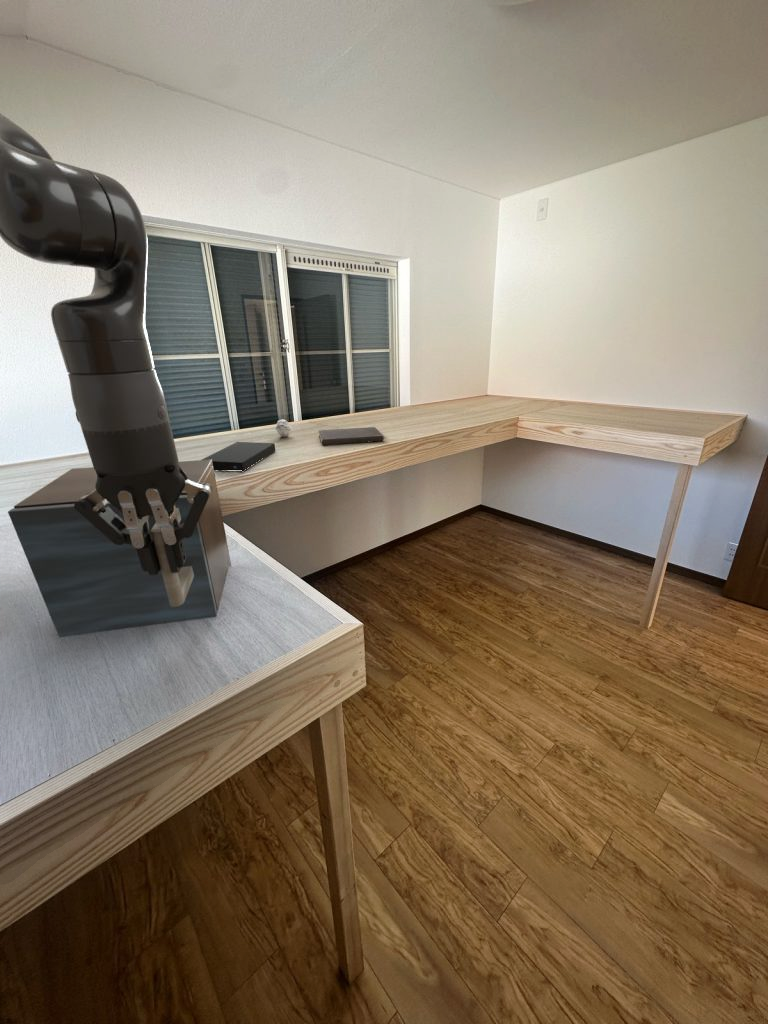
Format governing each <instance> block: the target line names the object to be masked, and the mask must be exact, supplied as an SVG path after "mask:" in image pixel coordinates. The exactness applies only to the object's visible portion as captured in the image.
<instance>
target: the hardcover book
mask: <svg viewBox="0 0 768 1024" xmlns="http://www.w3.org/2000/svg"><path fill="white" fill-rule="evenodd" d="M317 432H318V434H319V435H318V437H319V440H320V443H321V446H322V445H323V446H333V445H332V444H338V445H347V444H346V443H353V444H356V443H355V442H368V441H383V440H384V439H385V437H384V434H382V432H381V431H380V430H379V429H378V428H377V427H375V426H370V427H369V426H368V427H367V426H366V427H353V428H352V427H350V428H335V429H318V431H317ZM383 442H384V441H383ZM368 443H369V442H368Z"/></svg>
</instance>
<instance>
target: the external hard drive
mask: <svg viewBox="0 0 768 1024" xmlns="http://www.w3.org/2000/svg"><path fill="white" fill-rule="evenodd" d="M273 452H274V453H275V452H276V444H275V443H274V442H254V441H252V442H251V441H236V442H234V443H232V444H230V445H228V446H226V447H223V448H222V449H220V450H218V451H216V452H213V453H212V454H210V455H207V456H206V457H204V458H202V459H201V460H212V463H213V468H214V470H242V471H244V470H245V469H247V468H248V467H250V466H251V465H253V464H255V463H256V462H258V461H259V460H261V459H262V458H264V457H266V456H268V455H269V456H271V455H273V454H274V453H273ZM270 454H271V455H270ZM269 456H268V457H269ZM266 458H267V457H266ZM264 459H265V458H264ZM261 461H262V460H261ZM258 463H259V462H258ZM255 465H256V464H255ZM250 468H251V467H250ZM247 470H248V469H247ZM244 472H245V471H244Z"/></svg>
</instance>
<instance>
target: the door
mask: <svg viewBox="0 0 768 1024" xmlns="http://www.w3.org/2000/svg"><path fill="white" fill-rule="evenodd" d="M107 502H108V501H107ZM108 507H109V508H110V509H111V510H112V511H113V512H115V513H116V514H117V515H118V516H119V517H120V518H121V519H122V520H123V521H124V522H125V520H124V515H123V513H122V512H121V511H120V510H119V509H117V508H116V507H115V506H114V505H112V504H111V503H110V502H108ZM175 507H176V510H177V518H178V522H179V525H180V524H182V523H184V522H185V520H186V518H187V516H188V514H189V511H190V509H191V507H192V504H191V503H189V502H188V500H187V495H180V497H179V499H178V500H177V502H176V504H175ZM7 514H8V516H9V518H10V521H11V524H12V526H13V529H14V530H15V533H16V536H17V538H18V540H19V543H20V546H21V548H22V550H23V553H24V556H25V558H26V560H27V562H28V564H29V567H30V570H31V572H32V574H33V578H34V580H35V582H36V584H37V587H38V589H39V592H40V595H41V597H42V599H43V602H44V604H45V607H46V608H47V611H48V614H49V616H50V619H51V621H52V623H53V626H54V628H55V631H56V634H57V635H58V638H64V637H71V636H80V635H86V634H87V635H88V634H94V633H101V632H110V631H117V630H123V629H124V630H125V629H132V628H140V627H148V626H153V625H154V626H156V625H163V624H172V623H178V622H185V621H193V620H200V619H209V618H216V617H218V611H217V608H216V603H215V598H214V593H213V588H212V584H211V579H210V574H209V569H208V565H207V560H206V555H205V550H204V545H203V541H202V536H201V531H200V526H199V522H198V523H197V525H196V528H195V530H194V532H193V534H192V536H191V537H190V538H183V539H182V542H183V546H184V550H185V554H186V560H185V563H184V565H183V567H181V569H180V571H179V573H171V570H170V566H169V562H168V559H167V555H166V551H165V547H164V546H165V544H166V543H165V541H164V538H163V535H162V532H161V529H160V528H159V527H158V526H157V523H156V520H155V517H154V516H149V518H148V522H149V527H150V532H151V535H150V537H151V539H153V542H154V546H155V550H156V553H157V557H158V561H159V565H160V571H159V573H158V575H153V576H150V575H149V573H148V571H146V572H145V571H144V570H143V569H142V567H141V563H140V560H139V557H138V553H137V550H136V548H135V547H134V546H133V545H130V544H125V543H124V544H122V545H116V544H114V543H113V542H112V541H111V540H110V539H108V538H107V537H106V536H105V535H104V534H103V533H102V532H101V531H99V530H98V529H97V528H96V527H95V526H94V525H93V524H91V523H90V522H89V521H88V520H87V519H86V518H85V517H84V516H82V515H81V514H80V513H79V512H78V511H77V510H76V509H75V508H74V504H64V505H51V506H38V507H26V508H14V507H13V508H11V509H10V510H8V511H7Z"/></svg>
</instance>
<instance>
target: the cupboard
mask: <svg viewBox="0 0 768 1024" xmlns="http://www.w3.org/2000/svg"><path fill="white" fill-rule="evenodd" d="M179 465H180V467H181V469H182V470H183V471H184V472H185V474H186V475H187V478H188V480H190V481H192V482H195V483H197V484H200V485H202V484H205V483H208V484H210V485H211V486H212V492H211V494H210V496H209V498H208V501H207V503H206V505H205V507H204V510H203V512H202V514H201V516H200V519H199V521H198V522H199V526H200V531H201V536H202V541H203V545H204V550H205V555H206V560H207V565H208V569H209V574H210V579H211V584H212V588H213V593H214V598H215V603H216V608H217V612H218V611H219V609H220V605H221V600H222V597H223V592H224V587H225V585H226V579H227V575H228V571H229V568H230V567H232V561H231V556H230V551H229V550H230V549H229V545H228V540H227V535H226V529H225V523H224V518H223V512H222V507H221V501H220V497H219V491H218V486H217V480H216V474H215V471H214V468H213V463H212V460H202V459H197V460H185V461H184V460H183V461H179ZM96 481H97V473H96V471H95V469H94V467H92V466H91V467H77V468H71V469H69V470H68V471H66V472H65V473H63V474H62V475H60V476H58V477H56V478H55V479H53V480H52V481H50V482H49V483H47V484H46V485H45V486H43V487H41V488H40V489H39V490H36V491H35V492H34V493H32V494H31V495H29V496H27V497H26V498H24V499H23V500H21V501H19V502H18V503H16V504H14V506H13V508H26V507H38V506H51V505H64V504H75V503H76V502H77V501H78V500H79V499H80V498H81V497H83V496H84V495H86V494H87V493H91V492H93V491H94V490H96V488H95V484H96ZM181 495H187V493H186V491H184V490H183V491H182V493H181Z"/></svg>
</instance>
